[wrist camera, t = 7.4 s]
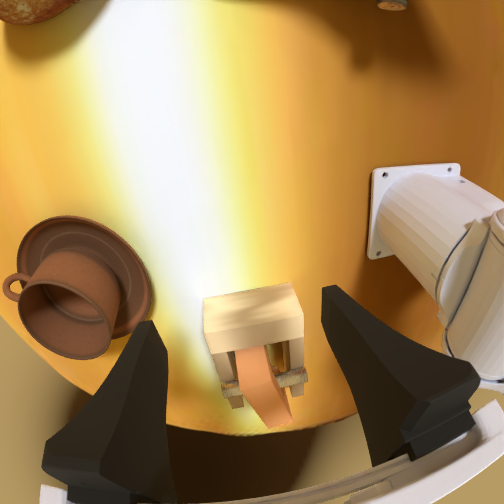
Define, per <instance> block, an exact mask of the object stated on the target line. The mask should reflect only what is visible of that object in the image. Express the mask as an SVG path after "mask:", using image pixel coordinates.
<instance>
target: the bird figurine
mask: <svg viewBox="0 0 504 504" xmlns="http://www.w3.org/2000/svg"><path fill="white" fill-rule="evenodd" d="M377 6H378V7H380V8H381V9H385V10H393V11H400V10H405V9H407V0H377Z"/></svg>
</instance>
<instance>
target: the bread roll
mask: <svg viewBox="0 0 504 504" xmlns="http://www.w3.org/2000/svg"><path fill="white" fill-rule="evenodd" d="M77 1H79V0H0V20H2V21H4V22H6V23H10V24H16V25H24V24H32V23H37V22H41V21H45V20H48V19H50V18H52V17H54V16H57V15H58V14H60V13H61V12H63V11H64V10H65V9H67V8H69V7H70V6H71V5H72V4H73V3H75V2H77Z"/></svg>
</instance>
